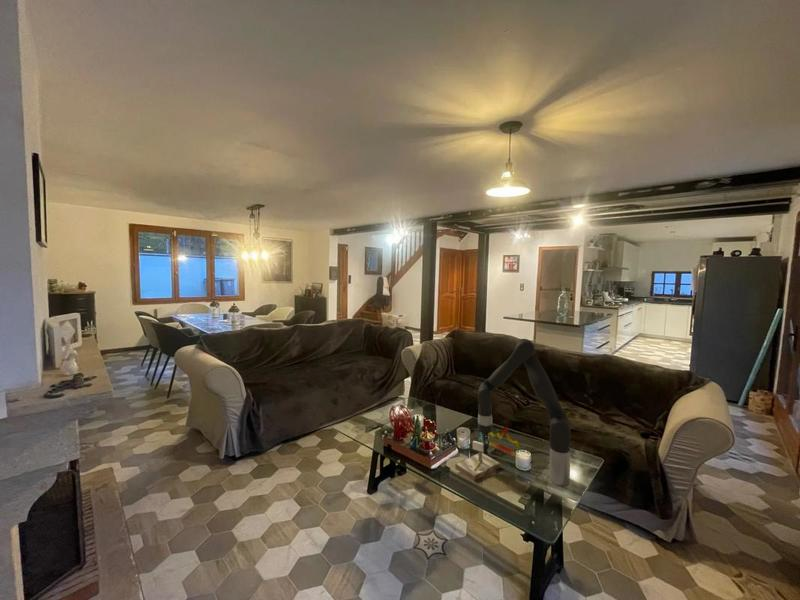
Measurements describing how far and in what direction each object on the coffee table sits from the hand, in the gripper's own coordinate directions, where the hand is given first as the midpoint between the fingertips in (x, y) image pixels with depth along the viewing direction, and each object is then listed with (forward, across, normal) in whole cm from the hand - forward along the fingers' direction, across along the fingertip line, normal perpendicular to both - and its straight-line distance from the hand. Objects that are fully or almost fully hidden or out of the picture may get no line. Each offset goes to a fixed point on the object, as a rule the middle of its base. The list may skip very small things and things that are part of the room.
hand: (485, 452), depth 189 cm
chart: (+9, -20, +12) cm, 25 cm away
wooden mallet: (+6, +2, -4) cm, 8 cm away
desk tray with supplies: (+9, 0, -4) cm, 10 cm away
